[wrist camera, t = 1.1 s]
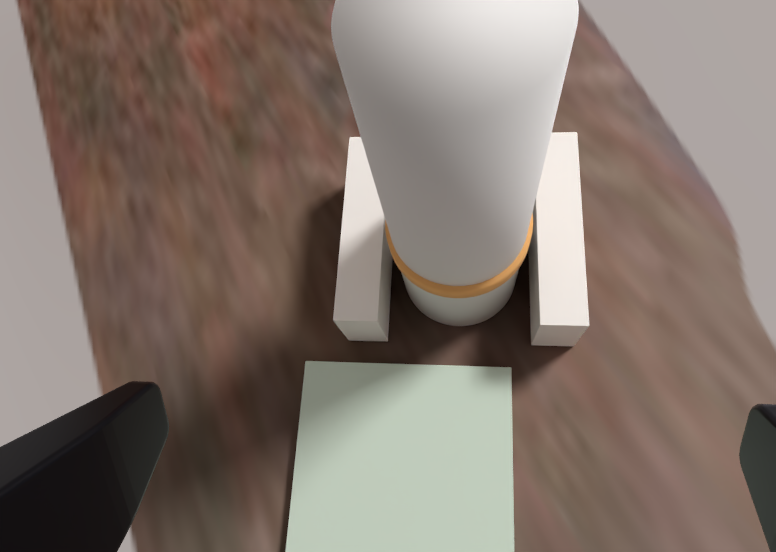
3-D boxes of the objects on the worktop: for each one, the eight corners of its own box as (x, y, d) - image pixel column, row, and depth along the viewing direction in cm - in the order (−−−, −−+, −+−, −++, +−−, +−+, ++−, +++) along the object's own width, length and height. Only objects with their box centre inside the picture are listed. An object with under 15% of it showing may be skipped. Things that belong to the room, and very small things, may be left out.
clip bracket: (573, 346, 22) (589, 326, 20) (348, 340, 24) (333, 320, 21) (564, 172, 25) (577, 131, 22) (362, 175, 26) (349, 137, 23)
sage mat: (514, 605, 20) (514, 607, 19) (284, 585, 21) (281, 587, 20) (510, 369, 22) (511, 367, 22) (308, 363, 23) (305, 361, 23)
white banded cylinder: (542, 296, 23) (642, 48, 10) (432, 350, 23) (388, 167, 10) (484, 199, 25) (504, -118, 12) (381, 249, 25) (287, -20, 12)
